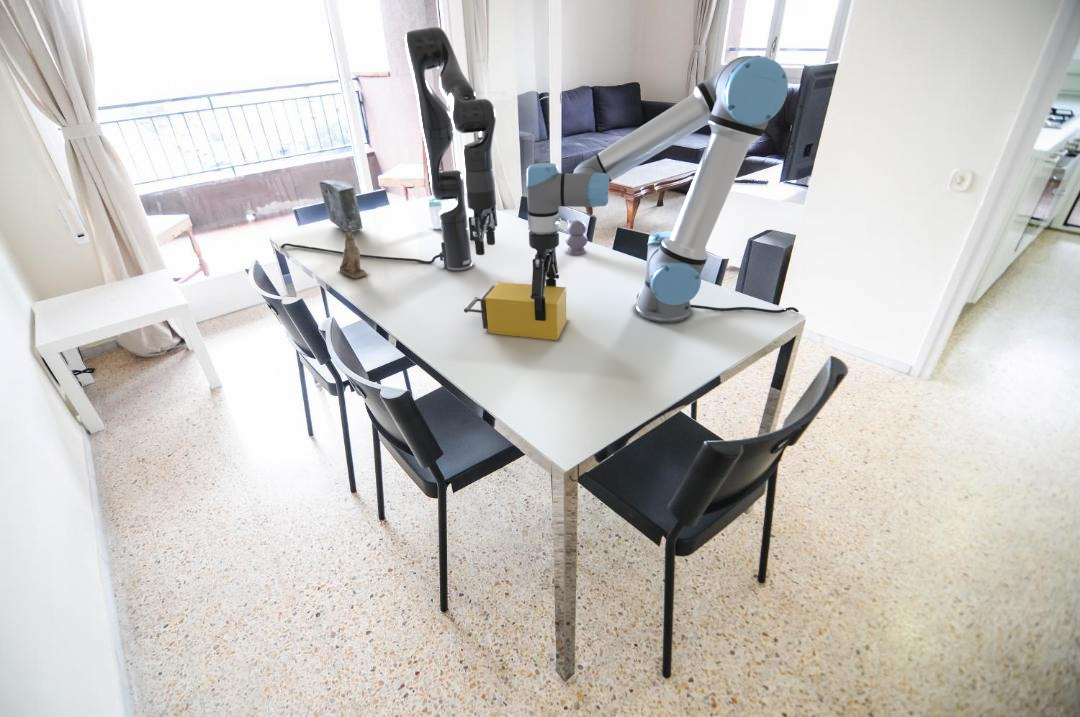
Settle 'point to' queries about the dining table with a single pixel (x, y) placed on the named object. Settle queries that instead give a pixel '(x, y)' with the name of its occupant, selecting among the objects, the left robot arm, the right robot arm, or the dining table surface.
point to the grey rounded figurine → (576, 237)
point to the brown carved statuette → (351, 258)
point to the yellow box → (525, 311)
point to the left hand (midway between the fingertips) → (486, 249)
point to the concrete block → (341, 204)
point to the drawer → (483, 308)
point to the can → (435, 212)
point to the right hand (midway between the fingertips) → (546, 310)
